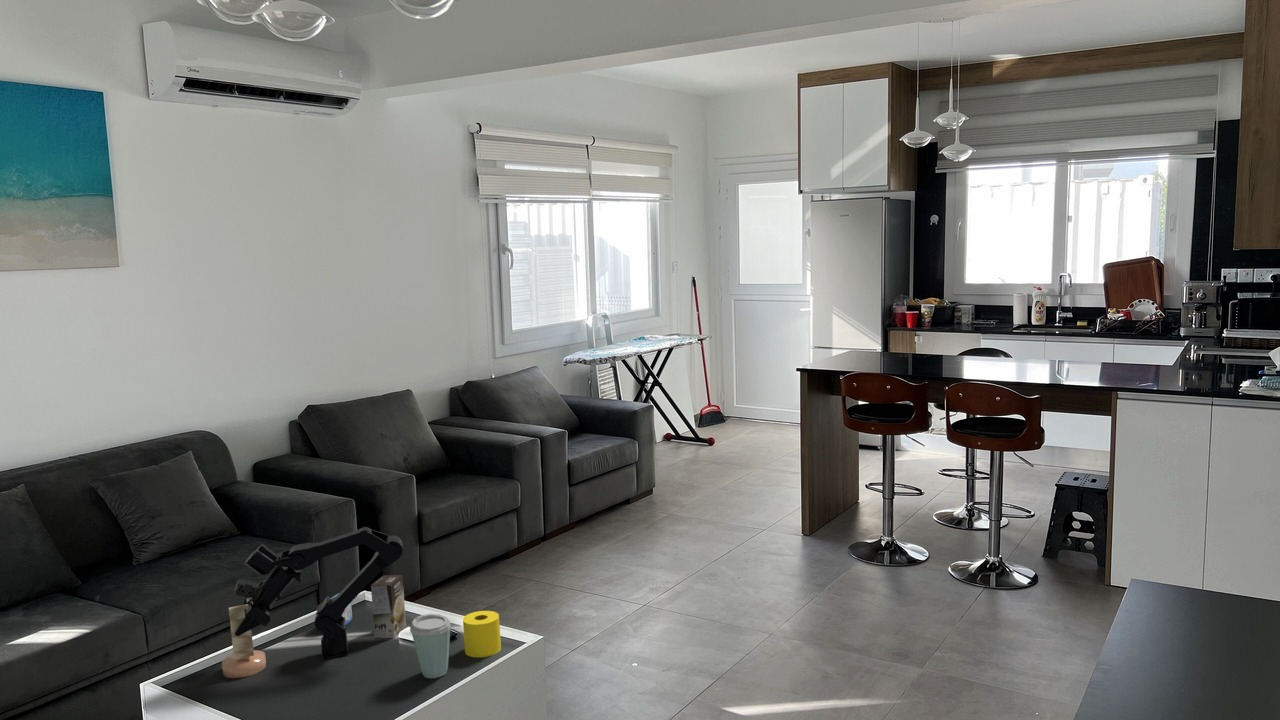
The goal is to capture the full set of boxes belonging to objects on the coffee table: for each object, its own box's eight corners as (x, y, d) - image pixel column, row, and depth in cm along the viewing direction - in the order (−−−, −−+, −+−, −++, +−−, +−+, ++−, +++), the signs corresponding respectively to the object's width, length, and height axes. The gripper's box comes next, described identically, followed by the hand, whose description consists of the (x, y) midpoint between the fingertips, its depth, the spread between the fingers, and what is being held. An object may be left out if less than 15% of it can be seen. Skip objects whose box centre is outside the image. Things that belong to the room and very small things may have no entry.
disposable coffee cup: (462, 667, 254) (458, 613, 253) (441, 684, 244) (437, 629, 243) (427, 663, 258) (423, 610, 256) (405, 680, 248) (401, 625, 246)
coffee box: (394, 638, 276) (390, 585, 274) (374, 638, 277) (369, 585, 275) (406, 626, 285) (402, 574, 283) (386, 625, 286) (382, 574, 284)
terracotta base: (268, 658, 266) (267, 647, 266) (263, 674, 256) (262, 663, 255) (226, 664, 263) (225, 653, 263) (219, 680, 253) (218, 670, 253)
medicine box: (339, 630, 284) (337, 602, 283) (326, 629, 285) (324, 601, 284) (352, 620, 292) (350, 592, 291) (339, 619, 293) (337, 592, 292)
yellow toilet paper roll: (478, 640, 272) (476, 609, 271) (507, 645, 268) (505, 613, 267) (457, 654, 263) (455, 621, 262) (487, 659, 259) (485, 626, 258)
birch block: (253, 649, 262) (248, 604, 261) (254, 655, 258) (249, 609, 256) (233, 653, 260) (228, 607, 259) (234, 659, 256) (229, 613, 254)
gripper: (248, 559, 266) (210, 605, 263) (252, 578, 250) (211, 627, 246) (281, 581, 271) (243, 626, 267) (287, 601, 254) (246, 650, 251)
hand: (235, 631), depth 258 cm, fingers closed on birch block, 5 cm apart
